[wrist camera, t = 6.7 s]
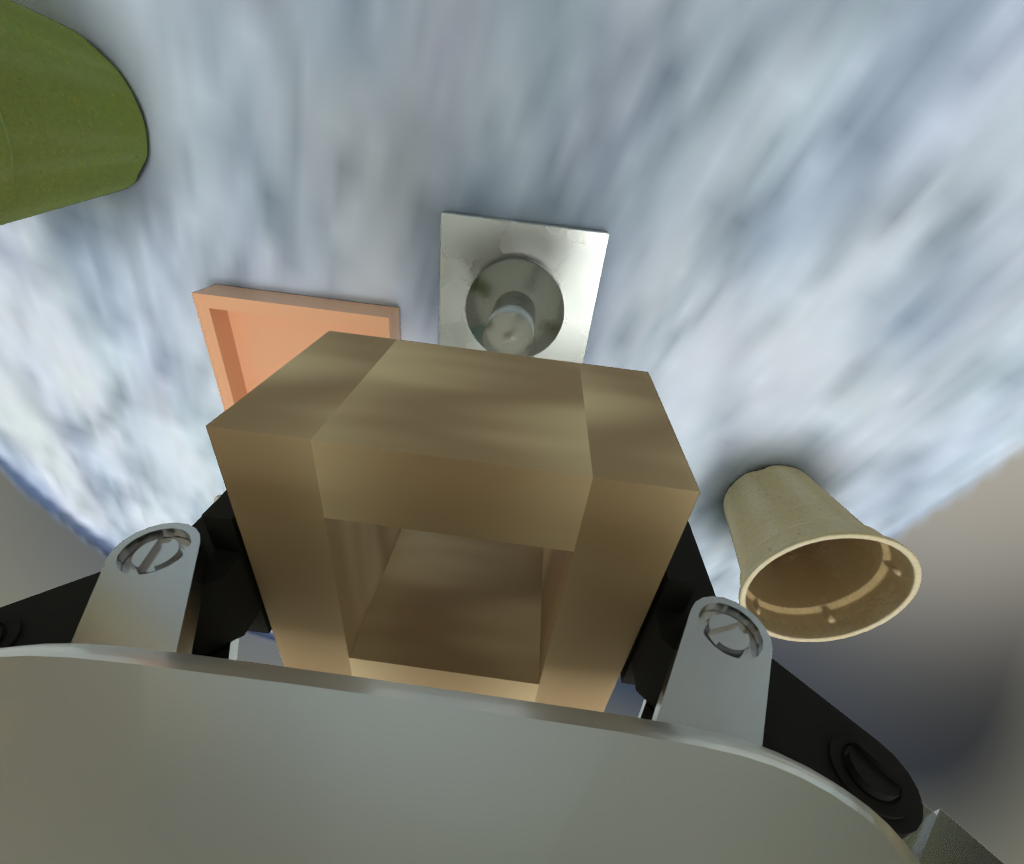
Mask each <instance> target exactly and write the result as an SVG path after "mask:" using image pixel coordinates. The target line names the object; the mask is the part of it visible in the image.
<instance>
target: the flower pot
mask: <svg viewBox="0 0 1024 864" xmlns="http://www.w3.org/2000/svg"><path fill="white" fill-rule="evenodd" d="M723 506H724V513H725V516H726V519H727V522H728V526H729V529H730V533H731V537H732V540H733V544H734V548H735V551H736V555H737V559H738V563H739V567H740V571H741V572H740V590H739V604H740V605H741V606H743V607H745V608H746V609H748V610H749V611H750V612H751V613H752V614H753V615H755V616H756V617H757V618H758V619H759V620H760V622H761V623H762V624H763V626H764V627H765V628H766V630H767V632H768V634H769V636H772V637H776V638H779V639H784V640H790V641H799V642H820V641H821V642H823V641H832V640H836V639H843V638H847V637H851V636H854V635H857V634H860V633H862V632H866V631H868V630H871V629H872V628H874V627H876V626H879V625H881V624H883V623H885V622H886V621H888V620H889V619H891V618H892V617H893V616H895V615H896V614H898V613H899V612H900V611H901V610H903V609H904V608H905V607H906V606H907V605H908V604H909V602H910V601H911V600H912V599H913V598H914V596H915V594H916V593H917V592H918V590H919V585H920V583H921V578H922V572H921V566H920V564H919V562H918V560H917V558H916V557H915V555H914V554H913V553H912V552H911V551H910V550H909V549H907V548H906V547H905V546H904V545H902V544H901V543H899V542H898V541H896V540H894V539H891V538H889V537H886V536H883V535H882V534H880V533H879V532H878V531H876V530H874V529H872V528H870V527H868V526H866V525H864V524H863V523H861V522H860V521H859V520H858V519H857V518H856V517H854V516H853V515H852V514H851V513H850V512H849V511H848V510H846V509H845V508H844V507H843V506H842V505H841V504H840V503H838V502H837V501H836V500H835V499H834V498H833V497H831V496H830V495H829V494H828V493H827V492H826V491H825V490H823V489H822V488H821V487H820V486H819V485H818V484H817V483H816V482H814V481H813V480H812V479H811V478H810V477H809V476H808V475H807V474H805V473H804V472H802V471H801V470H799V469H796V468H793V467H789V466H782V465H774V466H769V467H767V468H765V469H762V470H758V471H754V472H748V473H746V474H744V475H743V476H741V477H740V478H739V479H737V480H736V481H735V482H734V483H733V484H732V485H731V487H730V488H729V489H728V491H727V493H726V495H725V498H724V502H723Z"/></svg>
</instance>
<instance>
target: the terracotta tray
mask: <svg viewBox="0 0 1024 864" xmlns="http://www.w3.org/2000/svg"><path fill="white" fill-rule="evenodd" d="M192 296H193V299H194V303H195V306H196V310H197V313H198V317H199V321H200V324H201V328H202V331H203V335H204V338H205V342H206V346H207V349H208V353H209V356H210V360H211V363H212V367H213V371H214V374H215V378H216V381H217V385H218V388H219V392H220V396H221V399H222V403H223V406H224V410H225V411H226V410H227V409H228V408H230V407H231V406H232V405H233V404H235V403H236V402H237V401H239V400H240V399H241V398H243V397H244V396H245V395H246V394H248V393H249V392H250V391H252V390H253V389H254V388H255V387H257V386H258V385H259V384H261V383H262V382H263V381H265V380H266V379H267V378H268V377H270V376H271V375H272V374H274V373H275V372H276V371H277V370H279V369H280V368H281V367H283V366H284V365H285V364H287V363H288V362H289V361H290V360H292V359H293V358H294V357H296V356H297V355H298V354H299V353H301V352H302V351H303V350H305V349H306V348H307V347H309V346H310V345H311V344H312V343H314V342H315V341H316V340H318V339H319V338H320V337H322V336H323V335H324V334H325V333H327V332H328V331H337V332H344V333H352V334H360V335H367V336H375V337H383V338H390V339H398V340H401V337H400V308H397V307H390V306H382V305H374V304H366V303H358V302H350V301H342V300H335V299H327V298H319V297H311V296H303V295H295V294H288V293H280V292H272V291H264V290H256V289H248V288H240V287H233V286H225V285H217V284H215V285H212V286H209V287H206V288H204V289H201V290H198V291H195V292H192Z"/></svg>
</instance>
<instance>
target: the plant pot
mask: <svg viewBox="0 0 1024 864" xmlns="http://www.w3.org/2000/svg"><path fill="white" fill-rule="evenodd" d="M146 158H147V136H146V129H145V124H144V121H143V117H142V114H141V112H140V109H139V107H138V104H137V102H136V100H135V98H134V96H133V94H132V92H131V90H130V88H129V87H128V85H127V83H126V82H125V80H124V79H123V77H122V76H121V74H120V73H119V72H118V70H117V69H116V68H115V67H114V66H113V65H112V64H111V63H110V62H109V61H108V60H107V59H106V58H105V57H104V56H103V55H102V54H100V53H99V52H98V51H97V50H96V49H95V48H94V47H93V46H92V45H91V44H90V43H89V42H88V41H87V40H86V39H84V38H83V37H82V36H81V35H79V34H78V33H76V32H75V31H73V30H71V29H69V28H67V27H65V26H63V25H61V24H59V23H57V22H55V21H53V20H51V19H49V18H47V17H45V16H43V15H40V14H38V13H36V12H34V11H32V10H30V9H28V8H26V7H24V6H21V5H19V4H17V3H15V2H13V1H11V0H0V225H3V224H6V223H10V222H13V221H17V220H20V219H24V218H27V217H31V216H34V215H38V214H41V213H44V212H48V211H51V210H55V209H58V208H62V207H65V206H69V205H72V204H76V203H79V202H83V201H86V200H90V199H93V198H97V197H100V196H103V195H107V194H110V193H114V192H117V191H120V190H124V189H126V188H128V187H130V186H131V185H132V184H134V183H135V182H136V181H137V177H138V174H139V172H140V170H141V168H142V166H143V164H144V163H145V161H146Z"/></svg>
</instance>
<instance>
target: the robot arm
mask: <svg viewBox="0 0 1024 864" xmlns="http://www.w3.org/2000/svg"><path fill="white" fill-rule="evenodd" d="M247 630H248V631H255V632H262V633H270V631H271V630H272V628H271V625H270V621H269V618H268V615H267V612H266V609H265V606H264V603H263V600H262V597H261V594H260V591H259V588H258V585H257V582H256V578H255V575H254V572H253V569H252V566H251V563H250V560H249V557H248V554H247V551H246V548H245V545H244V542H243V539H242V536H241V532H240V529H239V526H238V523H237V520H236V517H235V514H234V511H233V508H232V505H231V502H230V499H229V496H228V493H227V490H226V491H225V492H224V493H223V494H222V495H221V496H220V497H219V498H218V499H217V500H216V501H215V502H214V503H213V504H212V505H211V506H210V507H209V508H208V509H207V510H206V511H205V512H204V513H203V514H202V517H201V518H200V519H199V520H198V521H197V522H196V523H195V524H194V525H193V526H190V525H188V524H182V523H167V524H160V525H157V526H153V527H149V528H146V529H144V530H142V531H139V532H137V533H135V534H133V535H131V536H130V537H128V538H127V539H125V540H123V541H122V542H121V543H120V544H119V545H117V546H116V547H115V548H114V549H113V550H112V552H111V553H110V555H109V556H108V558H107V559H106V561H105V564H104V566H103V569H102V571H101V572H98V573H96V574H93V575H90V576H87V577H84V578H82V579H79V580H76V581H73V582H70V583H68V584H65V585H62V586H59V587H57V588H54V589H51V590H48V591H45V592H43V593H40V594H37V595H34V596H31V597H29V598H26V599H23V600H21V601H18V602H15V603H12V604H9V605H6V606H4V607H1V608H0V864H1004V863H1003V862H1001V861H1000V860H999V859H998V858H997V857H996V856H994V855H993V854H992V853H991V852H990V851H989V850H988V849H986V848H985V847H984V846H983V845H982V844H980V843H979V842H978V841H977V840H976V839H975V838H974V837H973V836H971V835H970V834H969V833H968V832H967V831H966V830H964V829H963V828H962V827H961V826H960V825H959V824H958V823H956V822H955V821H954V820H953V819H952V818H951V817H949V816H948V815H947V814H946V813H945V812H944V811H942V810H941V809H939V810H937V811H935V812H932V811H931V810H930V809H929V808H928V807H927V806H925V805H924V804H923V803H922V801H921V797H920V795H919V791H918V789H917V787H916V785H915V784H914V782H913V780H912V778H911V777H910V775H909V773H908V772H907V771H906V769H905V768H904V767H903V766H902V764H901V763H900V762H899V761H898V759H897V758H896V757H895V756H894V755H893V754H892V753H891V752H890V751H889V750H887V749H886V748H885V747H884V746H883V745H882V744H881V743H880V742H878V741H877V740H876V739H875V738H873V737H872V736H871V735H870V734H868V733H867V732H866V731H864V730H863V729H862V728H861V727H859V726H858V725H857V724H856V723H854V722H853V721H852V720H850V719H849V718H848V717H846V716H845V715H844V714H843V713H841V712H840V711H839V710H838V709H836V708H835V707H834V706H832V705H831V704H830V703H829V702H827V701H826V700H825V699H823V698H822V697H821V696H820V695H818V694H817V693H816V692H814V691H813V690H812V689H811V688H809V687H808V686H807V685H806V684H804V683H803V682H802V681H800V680H799V679H798V678H796V677H795V676H794V675H793V674H791V673H790V672H789V671H787V670H786V669H785V668H784V667H782V666H781V665H780V664H779V663H777V662H776V661H775V660H773V659H772V643H771V639H770V637H769V634H768V632H767V630H766V628H765V627H764V626H763V624H762V623H761V622H760V620H759V619H758V618H757V617H756V616H755V615H753V614H752V613H751V612H750V611H749V610H748V609H746V608H745V607H743V606H741V605H740V604H738V603H736V602H734V601H732V600H729V599H726V598H723V597H716V596H715V593H714V590H713V587H712V585H711V582H710V579H709V576H708V574H707V571H706V568H705V566H704V563H703V560H702V557H701V555H700V552H699V549H698V546H697V544H696V541H695V538H694V536H693V533H692V530H691V527H690V525H689V522H688V521H687V524H686V526H685V528H684V530H683V533H682V535H681V537H680V539H679V542H678V544H677V546H676V548H675V551H674V553H673V555H672V558H671V560H670V562H669V564H668V567H667V569H666V571H665V573H664V576H663V578H662V580H661V582H660V585H659V587H658V589H657V592H656V594H655V596H654V598H653V601H652V603H651V605H650V607H649V610H648V612H647V614H646V616H645V619H644V621H643V623H642V625H641V628H640V630H639V632H638V635H637V637H636V639H635V641H634V644H633V646H632V648H631V650H630V653H629V655H628V657H627V659H626V662H625V664H624V666H623V669H622V671H621V680H622V683H627V684H634V685H635V686H636V691H638V692H639V694H640V695H641V696H642V697H643V698H644V702H643V705H642V708H641V711H640V714H639V716H638V718H635V717H628V716H623V715H617V714H611V713H605V712H599V711H592V710H585V709H578V708H571V707H565V706H558V705H551V704H544V703H537V702H530V701H524V700H517V699H510V698H503V697H496V696H489V695H483V694H476V693H469V692H462V691H455V690H448V689H440V688H433V687H426V686H419V685H412V684H405V683H398V682H391V681H384V680H377V679H370V678H362V677H355V676H348V675H341V674H334V673H327V672H319V671H312V670H305V669H297V668H290V667H283V666H275V665H268V664H260V663H253V662H246V661H238V660H237V653H238V644H239V643H238V642H239V638H240V637H242V636H244V635H245V633H246V632H247Z"/></svg>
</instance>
